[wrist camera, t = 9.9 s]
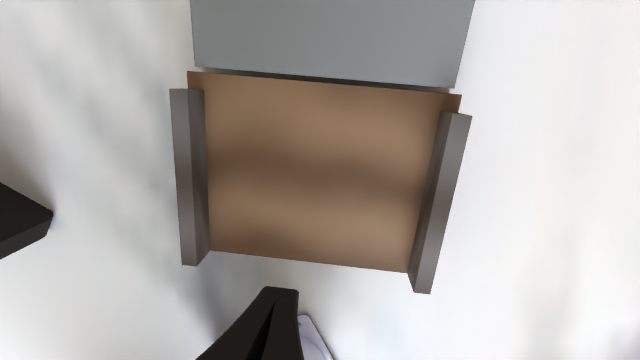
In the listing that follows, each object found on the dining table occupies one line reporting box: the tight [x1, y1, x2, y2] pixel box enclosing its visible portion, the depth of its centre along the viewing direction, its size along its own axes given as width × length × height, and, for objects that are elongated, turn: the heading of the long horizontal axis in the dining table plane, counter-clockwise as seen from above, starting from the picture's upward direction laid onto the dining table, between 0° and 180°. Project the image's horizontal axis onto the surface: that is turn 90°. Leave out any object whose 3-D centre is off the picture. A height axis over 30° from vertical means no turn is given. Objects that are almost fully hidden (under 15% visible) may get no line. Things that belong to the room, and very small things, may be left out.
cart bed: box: [169, 71, 472, 294], centre depth 19 cm, size 12×16×4 cm
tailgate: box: [190, 0, 475, 88], centre depth 17 cm, size 1×15×5 cm
